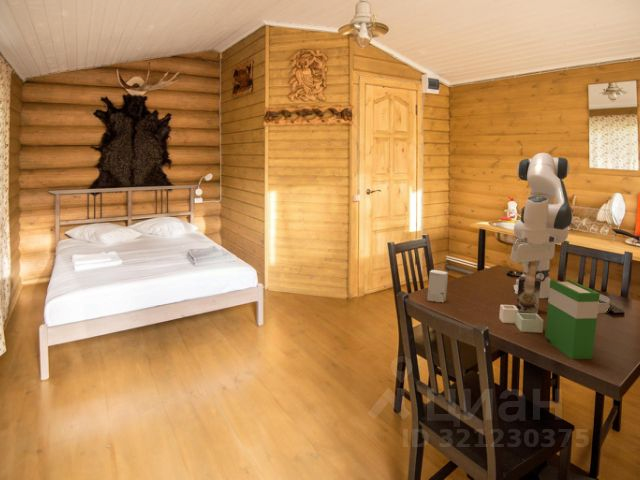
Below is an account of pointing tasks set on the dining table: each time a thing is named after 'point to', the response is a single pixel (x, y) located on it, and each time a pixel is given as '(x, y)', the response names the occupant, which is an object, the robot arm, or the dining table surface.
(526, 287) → the dowel
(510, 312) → the cup
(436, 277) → the skincare box
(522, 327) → the holder
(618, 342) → the dining table surface
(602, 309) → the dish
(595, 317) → the green cereal box
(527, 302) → the coffee box
